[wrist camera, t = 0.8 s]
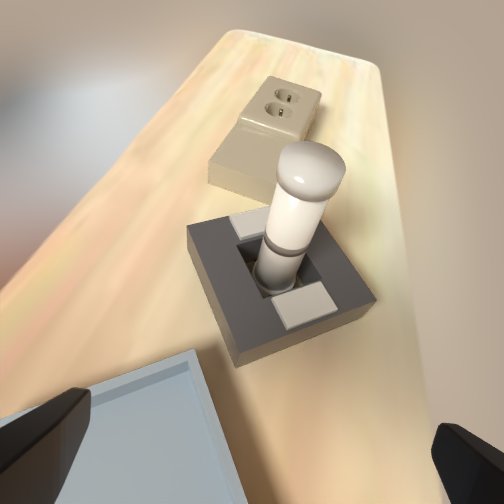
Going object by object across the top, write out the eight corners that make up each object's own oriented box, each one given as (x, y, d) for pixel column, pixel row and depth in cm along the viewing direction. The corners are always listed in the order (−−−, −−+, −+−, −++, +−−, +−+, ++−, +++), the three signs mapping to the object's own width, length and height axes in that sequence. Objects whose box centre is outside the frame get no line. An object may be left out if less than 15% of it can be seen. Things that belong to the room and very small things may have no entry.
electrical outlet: (208, 152, 31) (268, 73, 42) (207, 185, 34) (263, 104, 45) (281, 178, 30) (323, 91, 41) (273, 209, 34) (313, 121, 44)
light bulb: (300, 293, 28) (358, 177, 18) (261, 307, 26) (300, 190, 16) (280, 259, 29) (323, 136, 20) (243, 270, 28) (269, 145, 18)
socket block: (361, 317, 27) (379, 297, 24) (235, 368, 23) (240, 351, 21) (296, 220, 33) (306, 194, 30) (187, 248, 29) (186, 222, 26)
